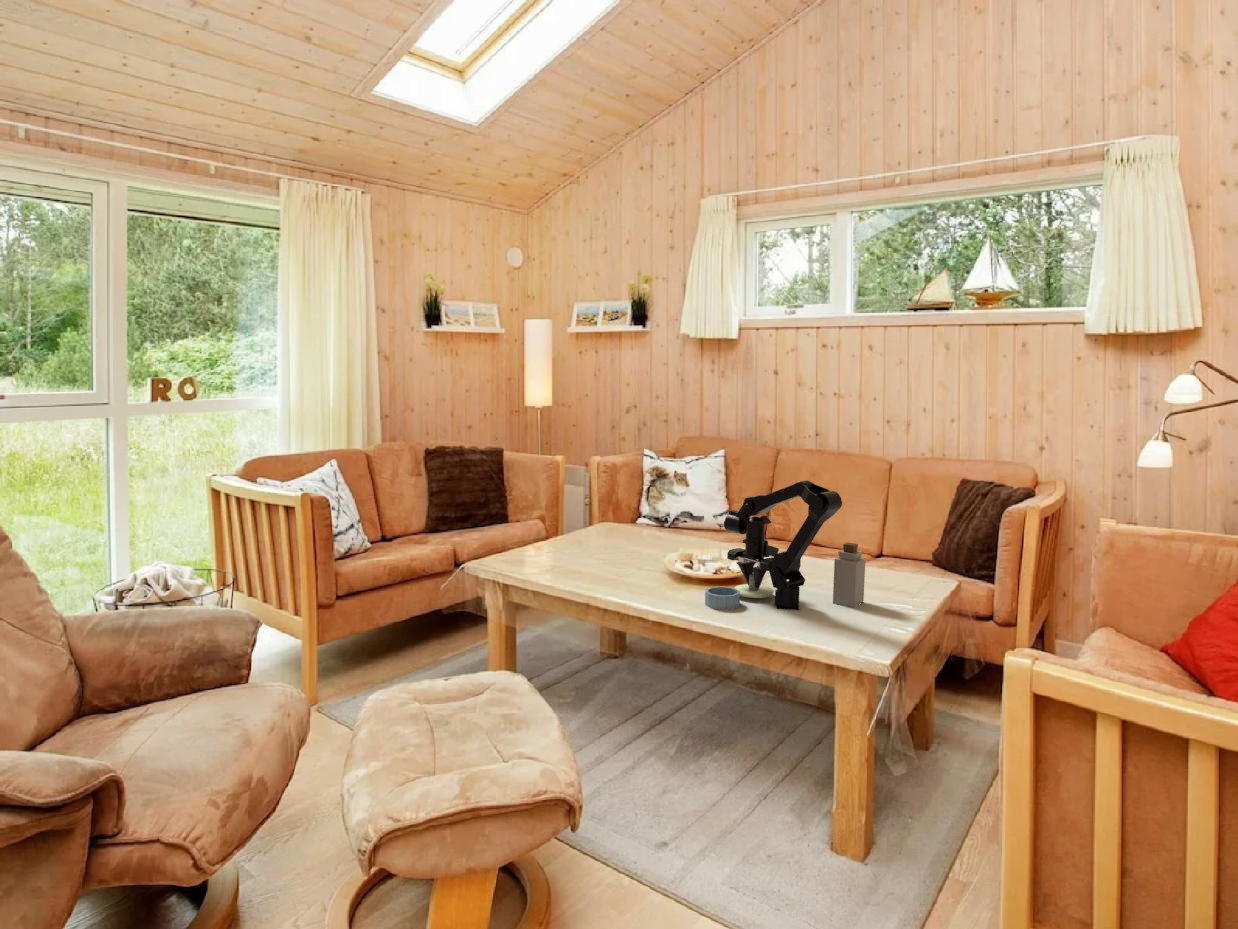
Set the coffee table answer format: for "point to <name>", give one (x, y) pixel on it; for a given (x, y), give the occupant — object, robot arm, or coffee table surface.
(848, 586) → the perfume bottle
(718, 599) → the bowl
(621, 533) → the coffee table surface
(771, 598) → the mat
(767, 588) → the lid
